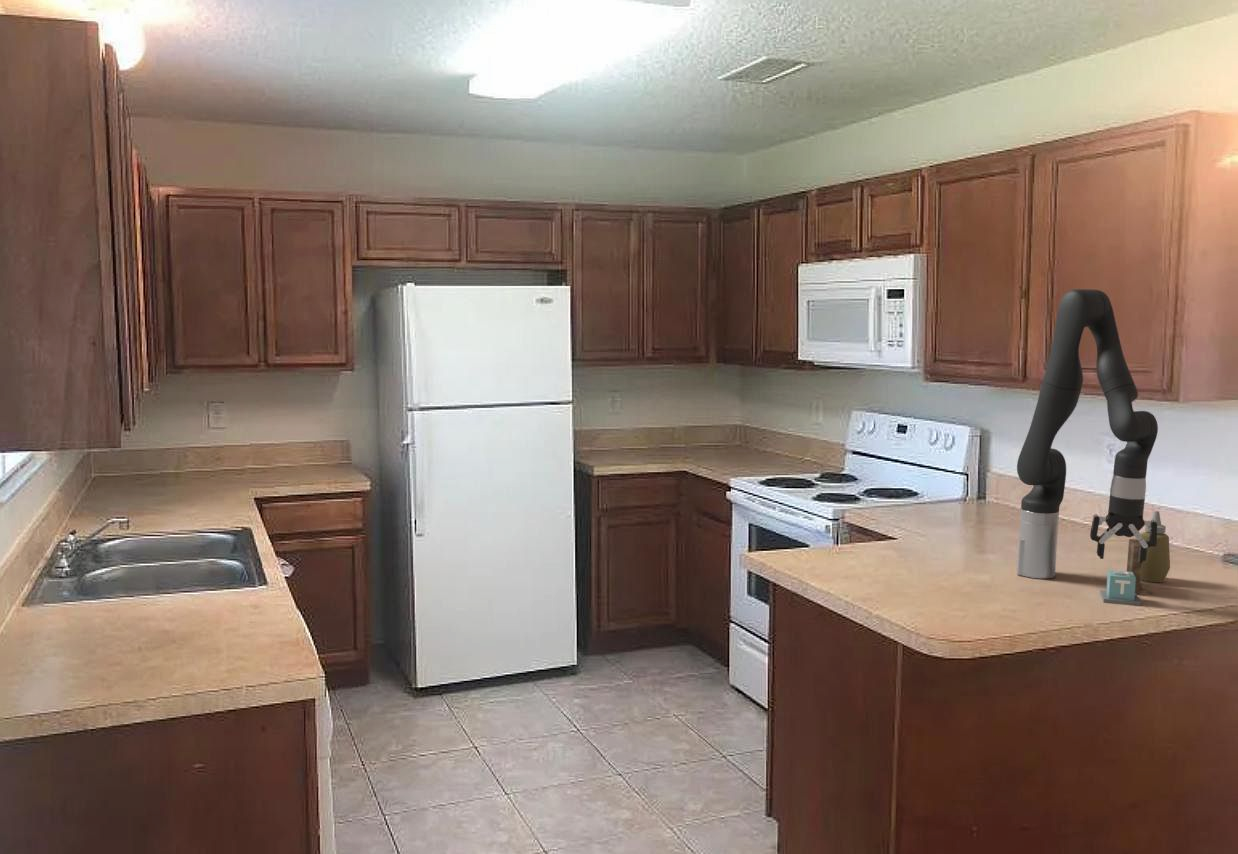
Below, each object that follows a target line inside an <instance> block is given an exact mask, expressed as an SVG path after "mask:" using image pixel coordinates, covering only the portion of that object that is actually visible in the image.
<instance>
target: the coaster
mask: <svg viewBox="0 0 1238 854" xmlns="http://www.w3.org/2000/svg"><path fill="white" fill-rule="evenodd" d="M1099 594H1100V597H1101V600H1102V603H1108V604H1118V605H1119V604H1121V605H1130V606H1138V607H1139V606H1141V605H1142V604H1141V603H1142V602H1141V600H1140V598H1139V597H1138V596H1139V595H1137V594H1136V593H1135V596H1134V600H1123V599H1113V598H1109V597H1108V595H1107V593H1106V590H1104V589H1100V590H1099Z"/></svg>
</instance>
